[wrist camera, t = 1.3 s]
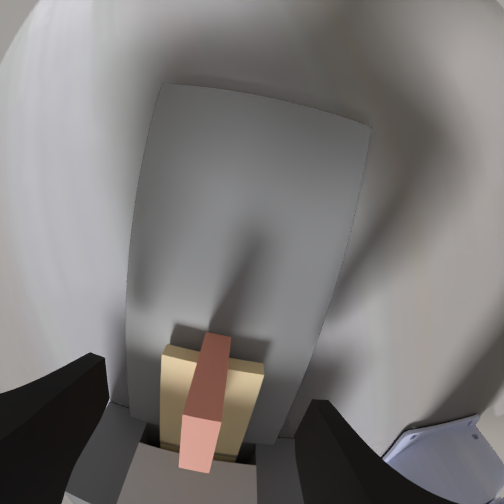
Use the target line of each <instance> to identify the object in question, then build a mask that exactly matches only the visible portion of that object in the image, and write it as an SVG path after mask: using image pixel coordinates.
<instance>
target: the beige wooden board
mask: <svg viewBox="0 0 504 504" xmlns="http://www.w3.org/2000/svg"><path fill="white" fill-rule="evenodd" d="M230 344H231V337H229V336H224V335H219V334H214V333H209V332H206V333H205V337H204V340H203V344H202V347H201V351H200V352H199V351H194V350H190V349H186V348H181V347H177V346H173V345H169V344H167V345H166V347H165V349H164V351H163V353H162V359H161V382H160V449H164V450H168V451H172V452H176V453H180V454H179V468H183V469H188V470H193V471H198V472H203V473H209V472H210V468H211V464H212V460H216V461H223V462H230V463H235V460H236V458H237V455H238V452H239V449H240V446H241V444H242V441H243V438H244V435H245V432H246V429H247V426H248V424H249V421H250V418H251V415H252V412H253V409H254V406H255V403H256V400H257V397H258V393H259V390H260V387H261V384H262V381H263V378H264V364H263V363H258V362H252V361H246V360H240V359H234V358H229V353H230Z"/></svg>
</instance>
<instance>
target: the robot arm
mask: <svg viewBox="0 0 504 504" xmlns="http://www.w3.org/2000/svg"><path fill="white" fill-rule="evenodd" d="M109 398H110V397H109V390H108V382H107V374H106V364H105V358H104V357H101V356H99V355H96V354H93V353H91V352H90V353H88V354H86V355H84V356H82V357H80V358H78V359H77V360H75V361H73V362H71V363H69V364H67V365H66V366H64V367H62V368H60V369H58V370H56V371H54V372H52V373H50V374H48V375H46V376H44V377H42V378H40V379H37V380H35V381H33V382H31V383H28V384H26V385H24V386H21V387H19V388H16V389H13V390H10V391H7V392H4V393H1V394H0V504H61V503H62V500H63V497H64V493H65V490H66V487H67V484H68V481H69V479H70V476H71V473H72V471H73V468H74V466H75V464H76V462H77V460H78V458H79V457H80V455H81V453H82V451H83V449H84V448H85V446H86V444H87V443H88V441H89V439H90V437H91V436H92V434H93V432H94V430H95V429H96V427H97V425H98V423H99V422H100V420H101V418H102V415H103V413H104V411H105V408H106V406H107V403H108V401H109ZM479 419H480V416H479V415H478V414H477V415H474V416H470V417H467V418H463V419H460V420H456V421H452V422H448V423H444V424H439V425H435V426H430V427H425V428H420V429H414V430H408V431H406V432H404V433H403V434H402V435H401V436H400V438H399V439H398V440H397V442H396V443H395V444H394V445H393V447H392V448H391V449H390V450H389V451H388V453H387V454H386V455H385V456H384V457H383V458H381V457H380V456H378V455H377V454H376V453H375V452H374V451H373V450H372V449H371V448H370V447H369V446H368V445H367V444H366V443H365V442H364V441H363V440H362V438H361V437H360V436H359V435H358V434H357V433H356V432H355V431H354V430H353V428H352V427H351V426H350V425H349V424H348V423H347V421H346V420H345V419H344V418H343V417H342V416H341V414H340V413H339V412H338V411H337V410H336V408H335V407H334V406H333V405H332V404H331V403H330V401H329V400H316V399H312V401H311V403H310V405H309V407H308V409H307V411H306V413H305V415H304V417H303V419H302V421H301V423H300V425H299V427H298V429H297V431H296V433H295V458H296V464H297V469H298V475H299V480H300V485H301V490H302V495H303V501H304V504H504V498H502V499H501V497H499V498H497V496H498V495H499V494H500V492H501V490H502V488H503V486H504V464H503V462H502V460H501V459H500V458H499V456H498V455H497V453H496V452H495V451H494V449H493V448H492V447H491V445H490V444H489V443H488V441H487V440H486V439H485V437H484V436H483V435H482V434H481V432H480V431H479V429H478V428H477V427H476V426H475V424H476V423H477V422H478V420H479ZM496 498H497V499H496Z"/></svg>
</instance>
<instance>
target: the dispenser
mask: <svg viewBox="0 0 504 504" xmlns="http://www.w3.org/2000/svg"><path fill="white" fill-rule="evenodd" d="M371 129H372V127H370V126H367V125H365V124H362V123H359V122H356V121H353V120H350V119H348V118H345V117H341V116H338V115H335V114H332V113H329V112H325V111H322V110H319V109H315V108H311V107H308V106H304V105H300V104H296V103H292V102H288V101H284V100H280V99H275V98H270V97H266V96H261V95H256V94H250V93H245V92H239V91H232V90H226V89H218V88H211V87H202V86H192V85H180V84H165V83H162V86H161V89H160V92H159V96H158V99H157V103H156V106H155V110H154V114H153V118H152V122H151V126H150V130H149V134H148V138H147V142H146V147H145V152H144V156H143V161H142V166H141V171H140V177H139V182H138V188H137V194H136V201H135V207H134V215H133V222H132V230H131V239H130V249H129V260H128V273H127V291H126V370H127V387H128V399H129V408H126V407H123V406H120V405H118V404H115V403H112V402H109V404H108V406H107V408H106V409H105V411H104V413H103V415H102V418H101V420H100V422H99V423H98V425H97V427H96V429H95V430H94V432H93V434H92V436H91V437H90V439H89V441H88V443H87V444H86V446H85V448H84V449H83V451H82V453H81V455H80V457H79V458H78V460H77V462H76V464H75V466H74V468H73V471H72V473H71V476H70V479H69V481H68V484H67V487H66V490H65V494H66V495H67V496H68V498H69V499H70V500H71V501H72V503H73V504H304V501H303V495H302V490H301V485H300V480H299V475H298V469H297V464H296V458H295V439H291V438H277V437H278V435H279V433H280V430H281V428H282V426H283V424H284V422H285V420H286V417H287V415H288V413H289V411H290V408H291V406H292V404H293V401H294V399H295V397H296V394H297V392H298V390H299V387H300V385H301V382H302V380H303V377H304V375H305V372H306V370H307V367H308V365H309V362H310V359H311V357H312V354H313V351H314V349H315V346H316V343H317V340H318V338H319V335H320V332H321V329H322V326H323V323H324V320H325V317H326V314H327V311H328V308H329V305H330V302H331V299H332V296H333V293H334V289H335V286H336V283H337V280H338V276H339V273H340V269H341V266H342V262H343V259H344V255H345V251H346V248H347V244H348V240H349V236H350V232H351V228H352V224H353V220H354V216H355V212H356V207H357V203H358V199H359V194H360V189H361V185H362V180H363V175H364V170H365V164H366V159H367V153H368V147H369V141H370V135H371ZM206 332H209V333H214V334H219V335H224V336H229V337H231V344H230V353H229V358H234V359H240V360H246V361H252V362H258V363H263V364H264V378H263V381H262V384H261V387H260V390H259V393H258V397H257V400H256V403H255V406H254V409H253V412H252V415H251V418H250V421H249V424H248V426H247V429H246V432H245V435H244V438H243V441H242V444H241V446H240V449H239V452H238V455H237V458H236V460H235V463H230V462H223V461H216V460H212V464H211V468H210V472H209V473H203V472H198V471H193V470H188V469H183V468H179V454H180V453H176V452H172V451H168V450H164V449H160V382H161V359H162V353H163V351H164V349H165V347H166V345H167V344H169V345H173V346H177V347H181V348H186V349H190V350H194V351H199V352H200V351H201V347H202V344H203V340H204V337H205V333H206Z"/></svg>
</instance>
